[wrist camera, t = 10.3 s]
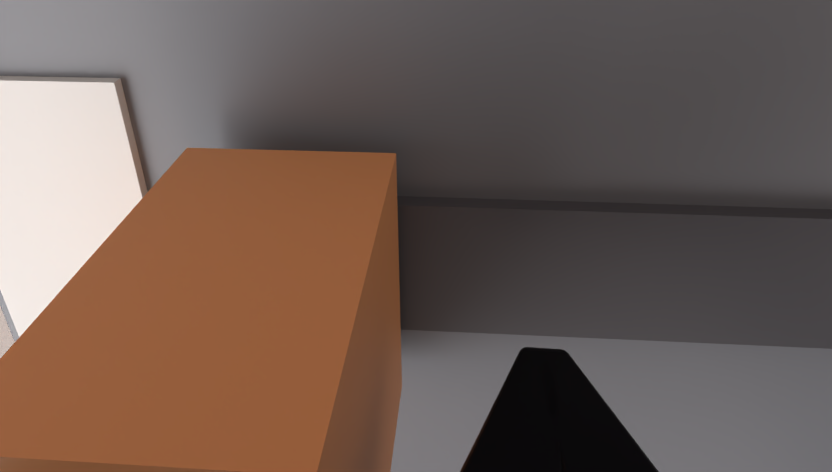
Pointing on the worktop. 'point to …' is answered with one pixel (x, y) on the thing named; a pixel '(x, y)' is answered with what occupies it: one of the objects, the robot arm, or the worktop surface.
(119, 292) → the orange rectangular block
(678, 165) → the panel
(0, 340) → the worktop surface
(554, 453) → the robot arm
